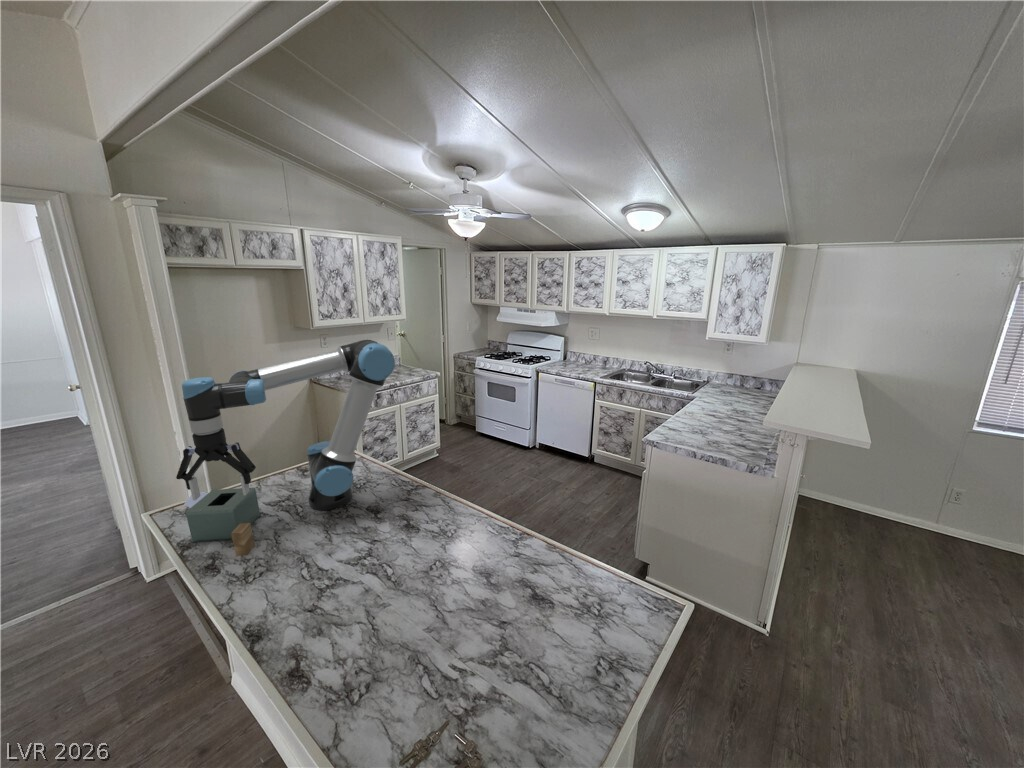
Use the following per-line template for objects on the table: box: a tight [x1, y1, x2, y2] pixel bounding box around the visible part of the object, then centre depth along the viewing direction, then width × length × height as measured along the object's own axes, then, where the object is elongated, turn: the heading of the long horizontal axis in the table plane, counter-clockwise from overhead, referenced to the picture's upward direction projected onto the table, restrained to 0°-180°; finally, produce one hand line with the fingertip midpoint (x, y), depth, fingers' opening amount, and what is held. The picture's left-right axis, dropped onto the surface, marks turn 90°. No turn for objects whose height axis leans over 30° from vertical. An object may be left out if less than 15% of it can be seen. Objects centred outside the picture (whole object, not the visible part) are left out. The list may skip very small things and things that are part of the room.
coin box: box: [185, 487, 261, 543], centre depth 135 cm, size 14×14×11 cm
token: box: [231, 523, 255, 557], centre depth 124 cm, size 3×5×8 cm, turn 6°
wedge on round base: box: [183, 491, 209, 509], centre depth 146 cm, size 9×7×13 cm
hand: (222, 495), depth 122 cm, fingers open, 13 cm apart
